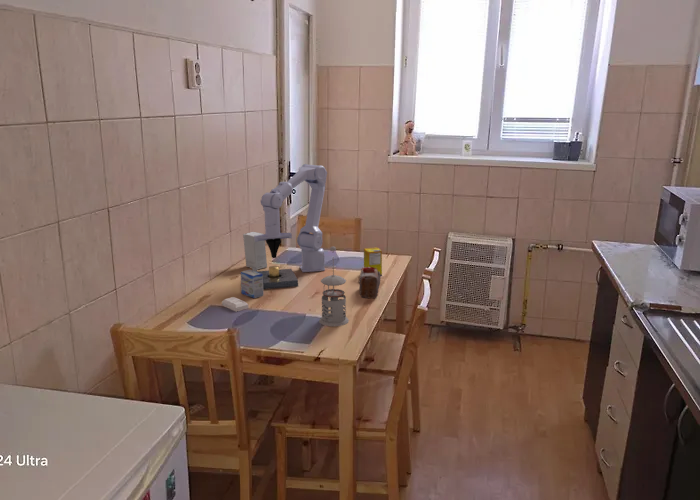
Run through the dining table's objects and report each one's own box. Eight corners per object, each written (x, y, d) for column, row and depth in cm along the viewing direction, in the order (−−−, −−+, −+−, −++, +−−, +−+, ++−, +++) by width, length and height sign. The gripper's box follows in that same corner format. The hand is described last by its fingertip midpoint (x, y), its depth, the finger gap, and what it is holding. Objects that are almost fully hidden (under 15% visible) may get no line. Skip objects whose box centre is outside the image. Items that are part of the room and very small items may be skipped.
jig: (291, 274, 234) (291, 263, 232) (298, 286, 219) (297, 275, 217) (252, 277, 230) (251, 267, 228) (256, 290, 215) (255, 278, 213)
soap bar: (234, 302, 202) (233, 295, 202) (248, 309, 196) (248, 302, 195) (222, 306, 199) (221, 299, 198) (236, 312, 193) (235, 305, 192)
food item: (359, 286, 218) (359, 262, 216) (380, 286, 218) (380, 262, 215) (358, 298, 205) (358, 272, 203) (380, 298, 205) (381, 272, 202)
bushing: (278, 279, 227) (277, 265, 225) (280, 282, 223) (280, 268, 222) (268, 280, 225) (267, 266, 224) (270, 283, 222) (270, 269, 220)
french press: (325, 328, 178) (323, 251, 172) (312, 316, 189) (311, 243, 182) (353, 323, 182) (353, 248, 176) (339, 311, 192) (339, 240, 186)
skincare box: (267, 267, 243) (265, 233, 240) (255, 270, 239) (254, 236, 236) (256, 263, 249) (254, 230, 245) (244, 266, 245) (242, 233, 241)
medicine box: (241, 294, 210) (239, 271, 208) (250, 291, 214) (249, 269, 211) (254, 298, 205) (253, 276, 203) (264, 295, 208) (262, 273, 206)
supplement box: (376, 272, 236) (376, 247, 233) (382, 276, 230) (382, 250, 228) (363, 273, 234) (363, 248, 231) (368, 277, 229) (368, 251, 226)
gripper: (287, 220, 225) (289, 253, 228) (251, 223, 220) (253, 256, 223) (292, 223, 218) (293, 257, 222) (255, 226, 213) (257, 261, 217)
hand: (273, 257), depth 222 cm, fingers closed
